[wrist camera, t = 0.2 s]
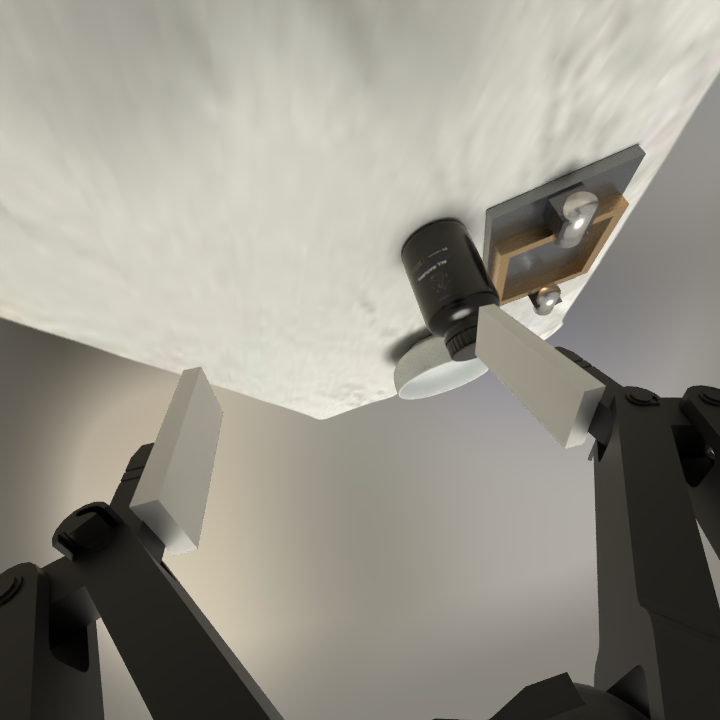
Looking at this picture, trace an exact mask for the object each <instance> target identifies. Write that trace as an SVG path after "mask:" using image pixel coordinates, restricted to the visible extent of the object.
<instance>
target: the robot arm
mask: <svg viewBox="0 0 720 720" xmlns="http://www.w3.org/2000/svg"><path fill="white" fill-rule="evenodd" d="M475 355H476V356H477V357H478V358H479V359H480V360H481V361H482V362H483V363H484V364H485V365H486V366H487V367H488V369H489V370H490V371H491V372H492V373H493V374H494V375H495V376H496V377H497V378H498V379H499V380H500V381H501V382H502V383H503V384H504V385H505V386H506V387H507V388H508V390H509V391H510V392H511V393H512V394H513V395H514V396H515V397H516V398H517V399H518V400H519V401H520V402H521V403H522V404H523V405H524V406H525V407H526V409H527V410H528V411H529V412H530V413H531V414H532V415H533V416H534V417H535V418H536V419H537V420H538V421H539V422H540V423H541V424H542V425H543V426H544V428H546V430H547V431H548V432H549V433H550V434H551V435H552V436H553V437H554V438H555V439H556V440H557V441H558V442H559V443H560V444H561V445H562V446H563V448H565V449H566V448H570V447H573V446H577V445H580V444H584V441H585V439H586V436H587V433H588V432H589V433H590V434H591V435H592V436H593V437H594V438H595V439H596V440H595V442H594V445H593V447H592V450H591V452H590V455H589V457H588V460H590V461H591V460H592V458H593V456H594V479H595V511H596V541H597V542H596V543H597V573H598V574H597V575H598V604H599V605H598V606H599V637H600V639H599V652H598V656H597V661H596V666H595V675H594V687H591V686H589V685H584V684H579V683H573V682H572V680H571V678H570V677H569V675H568V673H567V672H566V673H563V674H560V675H557V676H555V677H551V678H549V679H546V680H543V681H540V682H537V683H535V684H532V685H529V686H526V687H525V688H524V689H523V690H522V691H520V692H519V693H518V694H517V695H516V696H515V697H514V698H513V699H512V700H511V701H509V702H508V703H507V704H506V705H505V706H504V707H503V708H502V709H501V710H500V711H499V712H497V713H496V714H495V715H494V716H493V717H492V718H490V719H489V720H720V608H719V604H718V600H717V597H716V593H715V590H714V586H713V582H712V578H711V574H710V571H709V567H708V563H707V560H706V556H705V552H704V549H703V544H702V541H701V537H700V533H699V530H698V526H697V522H696V520H697V521H698V523H699V525H700V527H701V528H702V530H703V532H704V533H705V535H706V537H707V538H708V540H709V542H710V544H711V546H712V547H713V549H714V551H715V553H716V554H717V556H718V558H719V560H720V389H717V388H714V387H709V386H702V385H700V386H692V387H690V388H688V389H687V390H686V392H685V394H684V396H683V397H682V398H660V397H659V396H658V395H656V394H655V393H653V392H651V391H649V390H647V389H643V388H639V387H632V386H626V387H622V386H621V385H620V384H618V383H617V382H615V381H614V380H612V379H611V378H610V377H608V376H607V375H605V374H604V373H602V372H601V371H600V370H598V369H597V368H595V367H592V366H591V364H590V363H588V362H587V361H585V360H584V361H583V359H582V358H581V357H580V356H578V355H577V354H575V353H574V352H572V351H570V350H567V349H565V348H562V347H555V348H554V347H552V346H551V345H549V344H548V343H547V342H545V341H544V340H543V339H541V338H540V337H539V336H537V335H536V334H534V333H533V332H532V331H530V330H529V329H528V328H526V327H525V326H524V325H522V324H521V323H519V322H518V321H517V320H515V319H514V318H513V317H511V316H510V315H509V314H507V313H506V312H504V311H503V310H502V309H500V308H499V307H498V306H496V305H495V304H491V305H486V306H482V307H479V316H478V327H477V338H476V348H475ZM222 417H223V411H222V409H221V407H220V405H219V403H218V401H217V398H216V396H215V394H214V392H213V390H212V388H211V386H210V384H209V382H208V380H207V378H206V376H205V374H204V371H203V369H202V367H198V368H193V369H188V370H184V371H183V372H182V375H181V378H180V380H179V383H178V385H177V388H176V390H175V393H174V395H173V398H172V400H171V403H170V405H169V408H168V410H167V413H166V415H165V418H164V421H163V423H162V425H161V428H160V431H159V433H158V436H157V438H156V441H155V443H151V444H146V445H142V446H141V447H140V448H139V450H138V451H137V452H136V453H135V454H134V455H133V456H132V457H131V459H130V462H129V464H128V466H127V468H126V473H124V475H123V477H122V479H121V483H120V484H119V486H118V488H117V490H116V492H115V495H114V497H113V499H112V501H111V503H110V506H109V505H107V504H106V503H105V502H93V503H90V504H87V505H85V506H83V507H81V508H79V509H77V510H76V511H74V512H73V513H72V514H70V515H69V516H68V517H67V518H66V519H65V520H63V522H62V523H61V524H60V525H59V527H58V528H57V529H56V531H55V533H54V535H53V538H52V545H53V547H54V548H56V549H57V550H58V551H60V552H61V553H62V554H63V555H65V556H64V557H62V558H60V559H58V560H56V561H54V562H52V563H50V564H48V565H47V566H45V567H43V568H39V567H38V566H37V565H35V564H32V563H30V562H27V563H21V564H18V565H16V566H14V567H11V568H9V569H7V570H6V571H5V572H3V573H2V574H0V720H104V709H103V697H102V687H101V674H100V663H99V651H98V640H97V629H96V620H97V619H99V618H100V617H101V618H102V620H103V622H104V624H105V626H106V628H107V630H108V632H109V634H110V636H111V638H112V639H113V641H114V643H115V645H116V647H117V649H118V651H119V653H120V655H121V657H122V659H123V661H124V663H125V665H126V667H127V669H128V671H129V673H130V675H131V677H132V678H133V680H134V682H135V684H136V686H137V688H138V690H139V692H140V694H141V696H142V698H143V700H144V702H145V704H146V706H147V708H148V710H149V712H150V714H151V716H152V718H153V720H284V719H283V717H282V716H281V715H280V713H279V712H278V711H277V709H276V708H275V707H274V705H273V704H272V703H271V702H270V700H269V699H268V698H267V696H266V695H265V694H264V692H263V691H262V690H261V688H260V687H259V686H258V685H257V683H256V682H255V681H254V679H253V678H252V677H251V675H250V674H249V673H248V671H247V670H246V669H245V668H244V666H243V665H242V664H241V662H240V661H239V660H238V658H237V657H236V656H235V654H234V653H233V652H232V650H231V649H230V648H229V647H228V645H227V644H226V643H225V642H224V640H223V639H222V637H221V636H220V635H219V633H218V632H217V631H216V630H215V628H214V627H213V626H212V624H211V623H210V622H209V620H208V619H207V618H206V616H205V615H204V614H203V613H202V612H201V610H200V609H199V607H198V606H197V605H196V604H195V602H194V601H193V599H192V598H191V597H190V596H189V594H188V593H187V592H186V590H185V589H184V588H183V586H182V585H181V584H180V582H179V581H178V580H177V578H176V577H175V576H174V575H173V573H172V572H171V571H170V570H169V568H168V567H167V566H166V564H165V563H164V562H163V561H162V557H163V553H164V549H165V547H166V548H167V549H168V551H169V552H170V553H171V554H172V555H173V556H174V555H178V554H181V553H185V552H189V551H192V550H196V549H198V545H199V539H200V534H201V529H202V523H203V518H204V513H205V507H206V502H207V496H208V491H209V485H210V481H211V475H212V470H213V464H214V459H215V454H216V449H217V443H218V438H219V433H220V427H221V422H222ZM711 450H713V452H714V454H713V453H712V452H711ZM714 455H715V456H714ZM433 720H458V719H433Z"/></svg>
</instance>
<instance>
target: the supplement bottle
mask: <svg viewBox="0 0 720 720" xmlns="http://www.w3.org/2000/svg"><path fill="white" fill-rule="evenodd" d="M402 261H403V265H404V268H405V270H406V273H407V276H408V279H409V281H410V284H411V287H412V289H413V292H414V295H415V297H416V300H417V303H418V305H419V308H420V311H421V313H422V316H423V319H424V321H425V324H426V326H427V328H428V330H429V331H430V332H431V333H432V334H434V335H435V336H438V337H441V338H445V339H444V344H445V347H446V348H447V350H448V352H449V355H450V357H451V359H452V360H453V361H455V362H463V361H468V360H472V359H475V358H478V357H477V356H476V355H475V348H476V338H477V327H478V316H479V307H482V306H486V305H491V304H495V305H496V306H498V307H500V297H499V295H498V292H497V290H496V288H495V286H494V284H493V282H492V280H491V278H490V276H489V274H488V272H487V270H486V267H485V265H484V263H483V261H482V259H481V257H480V255H479V253H478V251H477V249H476V247H475V245H474V243H473V241H472V239H471V237H470V235H469V233H468V231H467V229H466V228H465V227H464V226H463V225H462V224H460V223H458V222H455V221H440V222H436V223H433V224H431V225H428V226H426V227H424V228H423V229H421V230H420V231H418V232H417V233H416V234H414V235H413V236H412V237H411V238H410V240H409V241H408V242H407V244H406V245H405V247H404V250H403V253H402Z"/></svg>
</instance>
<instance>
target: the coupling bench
mask: <svg viewBox="0 0 720 720" xmlns="http://www.w3.org/2000/svg"><path fill="white" fill-rule="evenodd" d="M645 154H646V153H645V152H644V151H643V150H642V149H641V148H640V146H639V145H638V144H637V145H635V146H633V147H630V148H628V149H626V150H623V151H621V152H619V153H616V154H614V155H612V156H610V157H607V158H605V159H603V160H600V161H598V162H596V163H594V164H591V165H589V166H587V167H584V168H582V169H580V170H578V171H575V172H573V173H571V174H568V175H566V176H564V177H561V178H559V179H557V180H555V181H552V182H550V183H548V184H545V185H543V186H541V187H539V188H536V189H534V190H532V191H529V192H527V193H525V194H523V195H520V196H518V197H516V198H513V199H511V200H509V201H506V202H504V203H502V204H500V205H497V206H495V207H493V208H490V209H488V210H487V214H486V228H485V241H484V255H483V263H484V265H485V267H486V270H487V272H488V274H489V276H490V278H491V280H492V282H493V284H494V286H495V288H496V290H497V292H498V295H499V297H500V306H501V305H504V304H507V303H509V302H512V301H515V300H517V299H520V298H523V297H525V296H529V298H530V300H531V301H532V303H533V305H534V306H533V310H534V312H535V313H537V314H538V315H547V314H549V313H550V312H551V311H552V309H553V307H554V305H556V304H558V303H560V302H562V300H561V298H560V294H561V290H560V288H559V287H558V286H557V284H559V283H562V282H565V281H567V280H570V279H573V278H575V277H577V276H579V275H582V274H585V273H587V272H588V270H589V269H590V267H591V265H592V264H593V262H594V261H595V259H596V257H597V256H598V254H599V252H600V251H601V249H602V248H603V246H604V244H605V243H606V241H607V239H608V238H609V236H610V234H611V233H612V231H613V230H614V228H615V226H616V225H617V223H618V221H619V220H620V218H621V217H622V215H623V213H624V212H625V210H626V208H627V207H628V205H629V203H628V202H627V201H626V200H625V198H624V197H623V196H622V195H623V193H624V191H625V189H626V188H627V186H628V184H629V182H630V180H631V179H632V177H633V175H634V173H635V172H636V170H637V168H638V166H639V165H640V163H641V161H642V159H643V158H644V156H645Z"/></svg>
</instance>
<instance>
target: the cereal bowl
mask: <svg viewBox="0 0 720 720" xmlns="http://www.w3.org/2000/svg"><path fill="white" fill-rule="evenodd" d="M444 339H445V338H441V337H438V336H435V335H432V336H429V337H426V338H424V339H422V340H420V341H419V342H417V343H416V344H414V345H413V346H412V347H411V349H410V350H409V351H408V352H407V353H406V354H405V355H404V356H403V357H402V358H401V359H400V360H399V362H398V363H397V366H396V368H395V372H394V383H395V387H396V390H397V393H398V395H399V396H400V397H401V398H403V399H419V398H424V397H429V396H433V395H436V394H439V393H443V392H446V391H449V390H451V389H454V388H457V387H459V386H461V385H464V384H466V383H468V382H470V381H472V380H474V379H476V378H477V377H479V376H481V375H482V374H484V373H485V372H487V371H488V370H489V369H488V367H487V366H486V365H485V364H484V363H483V362H482V361H481V360H480V359H479V358H475V359H472V360H468V361H463V362H455V361H453V360H452V359H451V357H450V355H449V352H448V350H447V348H446V347H445V344H444Z"/></svg>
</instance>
